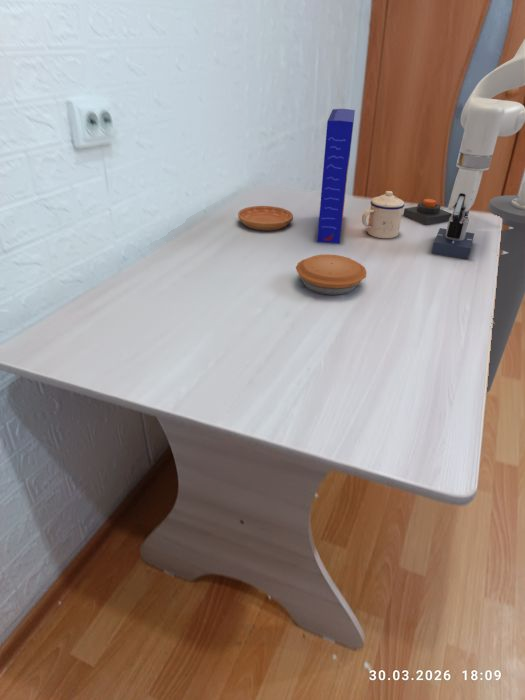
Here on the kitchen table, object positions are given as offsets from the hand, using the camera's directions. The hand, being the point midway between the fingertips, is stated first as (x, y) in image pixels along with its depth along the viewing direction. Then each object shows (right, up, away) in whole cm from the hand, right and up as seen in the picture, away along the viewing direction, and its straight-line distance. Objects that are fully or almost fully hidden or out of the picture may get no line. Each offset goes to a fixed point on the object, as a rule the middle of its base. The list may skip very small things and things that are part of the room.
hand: (455, 233), depth 125 cm
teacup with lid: (-18, +2, +10) cm, 21 cm away
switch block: (0, +10, +23) cm, 25 cm away
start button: (0, +13, +21) cm, 25 cm away
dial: (0, -1, +1) cm, 1 cm away
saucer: (-50, +7, +16) cm, 53 cm away
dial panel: (0, -3, +2) cm, 4 cm away
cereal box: (-31, +4, +13) cm, 34 cm away
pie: (-35, -16, -17) cm, 42 cm away
